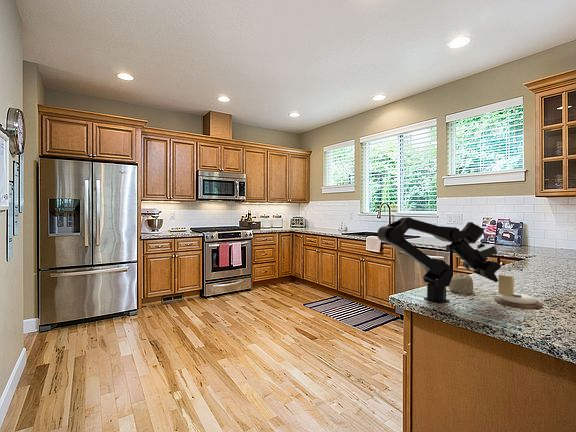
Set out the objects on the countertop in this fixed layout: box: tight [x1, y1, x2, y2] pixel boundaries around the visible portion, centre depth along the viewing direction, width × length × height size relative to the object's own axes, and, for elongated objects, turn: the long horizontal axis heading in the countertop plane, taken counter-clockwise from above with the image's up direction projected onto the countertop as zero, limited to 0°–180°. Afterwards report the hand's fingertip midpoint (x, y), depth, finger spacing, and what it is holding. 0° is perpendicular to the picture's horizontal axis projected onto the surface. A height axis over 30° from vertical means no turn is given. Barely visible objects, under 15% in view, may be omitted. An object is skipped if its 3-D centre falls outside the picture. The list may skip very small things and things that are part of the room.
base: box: [494, 295, 543, 310], centre depth 112 cm, size 14×14×1 cm
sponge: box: [448, 273, 474, 294], centre depth 131 cm, size 9×10×10 cm
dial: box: [498, 273, 538, 304], centre depth 112 cm, size 11×12×8 cm
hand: (497, 281), depth 116 cm, fingers closed
